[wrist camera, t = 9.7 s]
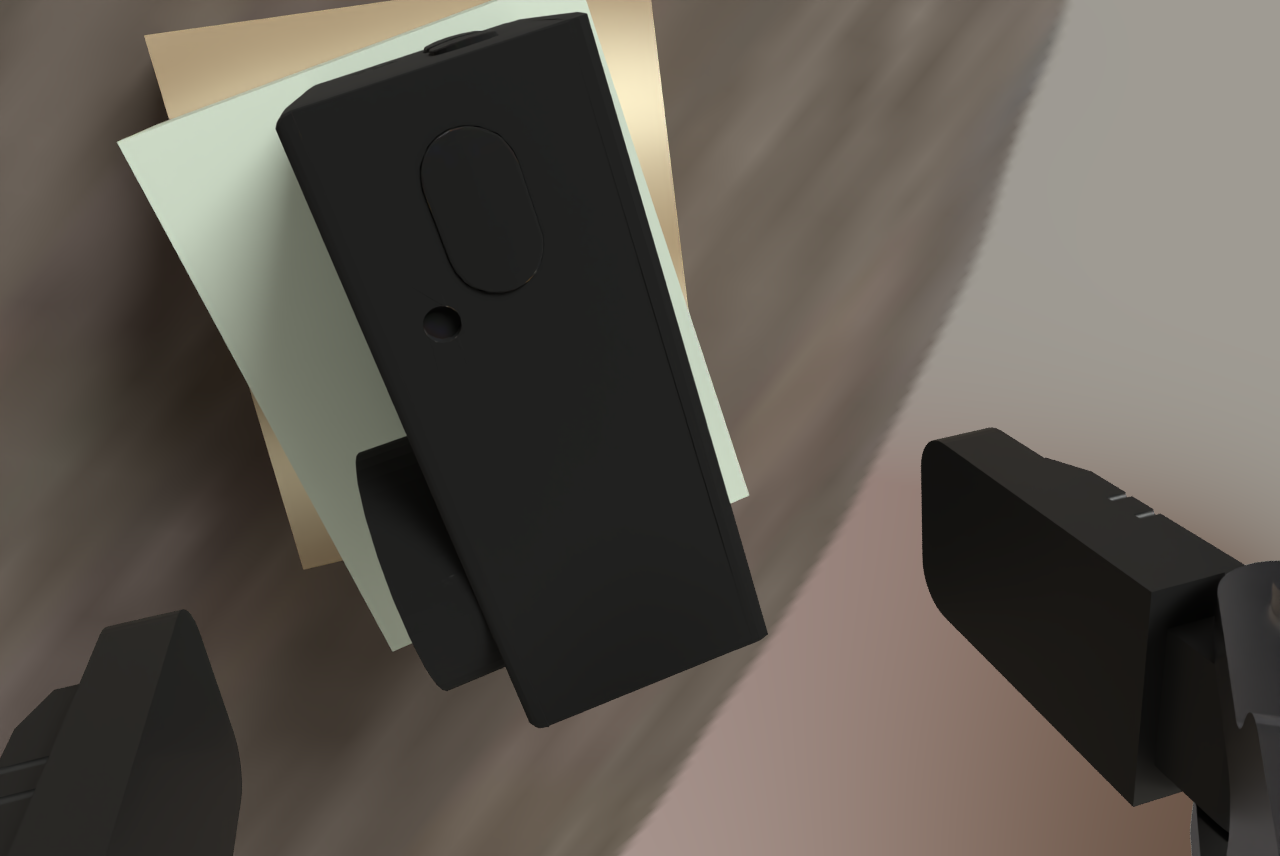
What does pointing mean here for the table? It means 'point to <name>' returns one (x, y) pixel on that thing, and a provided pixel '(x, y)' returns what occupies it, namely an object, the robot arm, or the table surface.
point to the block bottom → (284, 45)
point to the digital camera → (522, 371)
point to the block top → (324, 283)
